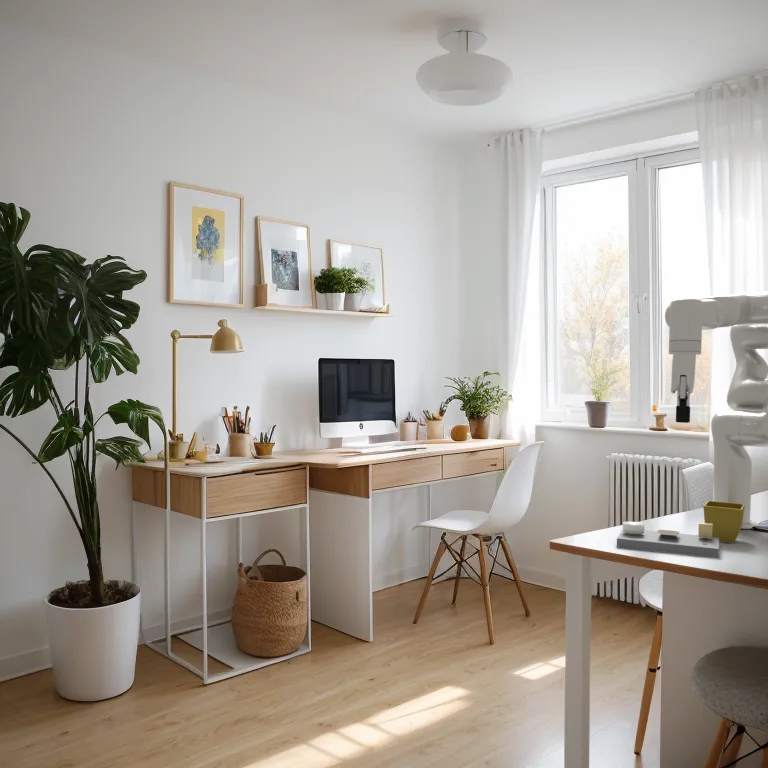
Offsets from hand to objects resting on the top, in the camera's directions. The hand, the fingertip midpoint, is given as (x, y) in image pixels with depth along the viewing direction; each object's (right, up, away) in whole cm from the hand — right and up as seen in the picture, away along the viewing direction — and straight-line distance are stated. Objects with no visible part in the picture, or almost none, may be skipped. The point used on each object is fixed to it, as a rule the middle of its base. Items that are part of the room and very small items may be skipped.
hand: (682, 422), depth 191 cm
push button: (-14, -26, -5) cm, 30 cm away
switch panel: (-7, -29, -8) cm, 31 cm away
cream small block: (+2, -27, -8) cm, 28 cm away
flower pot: (+10, -30, 0) cm, 31 cm away
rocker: (-6, -26, -8) cm, 28 cm away
